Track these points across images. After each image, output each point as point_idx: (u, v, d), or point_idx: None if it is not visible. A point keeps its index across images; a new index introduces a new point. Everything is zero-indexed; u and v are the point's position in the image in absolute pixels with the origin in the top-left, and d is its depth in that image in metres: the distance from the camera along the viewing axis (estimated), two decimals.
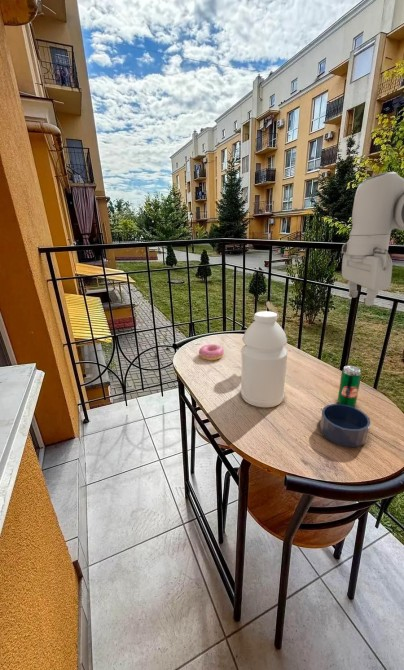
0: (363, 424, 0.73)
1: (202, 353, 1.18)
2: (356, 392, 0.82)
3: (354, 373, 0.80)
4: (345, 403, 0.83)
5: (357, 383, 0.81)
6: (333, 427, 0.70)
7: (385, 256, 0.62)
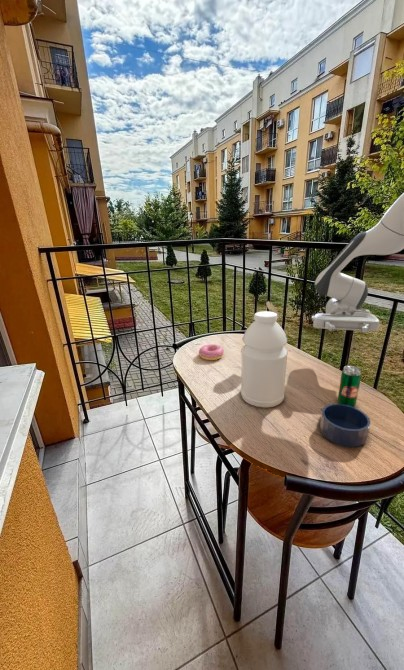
0: (363, 424, 0.73)
1: (202, 353, 1.18)
2: (356, 392, 0.82)
3: (354, 373, 0.80)
4: (345, 403, 0.83)
5: (357, 383, 0.81)
6: (333, 427, 0.70)
7: None
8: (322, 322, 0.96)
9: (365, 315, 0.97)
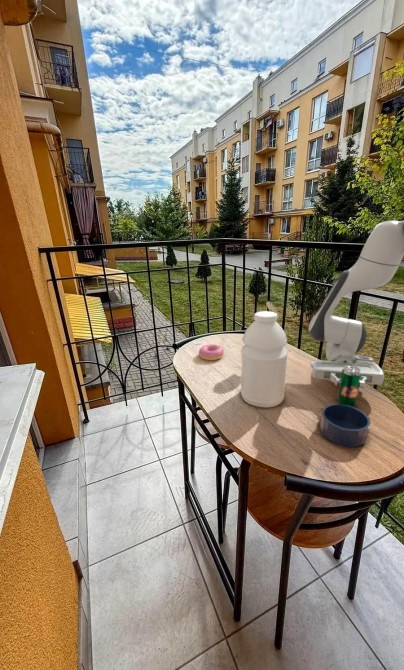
0: (363, 424, 0.73)
1: (202, 353, 1.18)
2: (356, 392, 0.82)
3: (354, 373, 0.80)
4: (345, 403, 0.83)
5: (357, 383, 0.81)
6: (333, 427, 0.70)
7: None
8: (322, 373, 0.89)
9: (369, 364, 0.89)
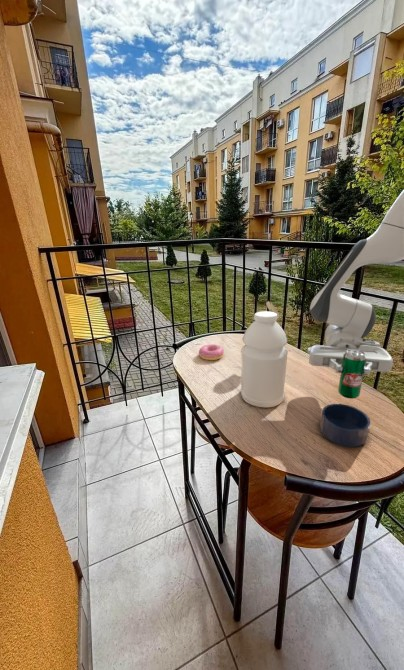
0: (363, 424, 0.73)
1: (202, 353, 1.18)
2: (360, 380, 0.70)
3: (358, 357, 0.68)
4: (347, 393, 0.71)
5: (361, 369, 0.69)
6: (333, 427, 0.70)
7: None
8: (320, 359, 0.76)
9: (374, 349, 0.77)
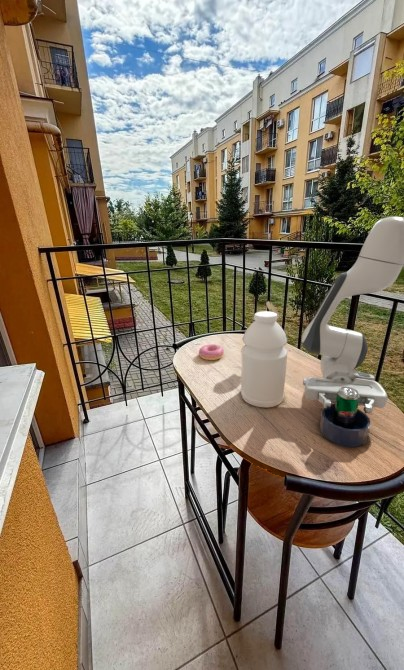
0: (363, 424, 0.73)
1: (202, 353, 1.18)
2: (354, 418, 0.70)
3: (351, 397, 0.68)
4: None
5: (355, 408, 0.69)
6: (333, 427, 0.70)
7: None
8: (315, 393, 0.77)
9: (369, 383, 0.77)
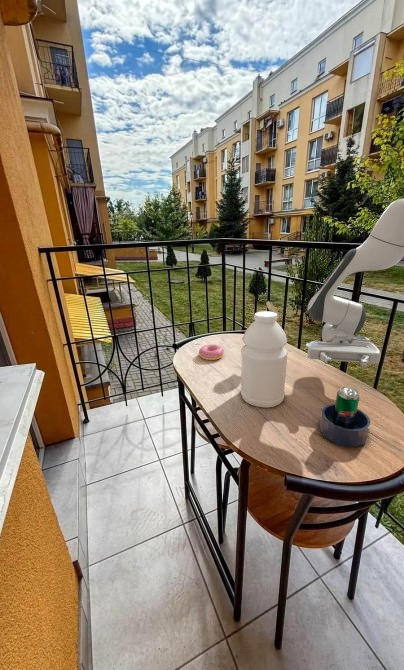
0: (363, 424, 0.73)
1: (202, 353, 1.18)
2: (354, 418, 0.70)
3: (351, 397, 0.68)
4: None
5: (355, 408, 0.69)
6: (333, 427, 0.70)
7: None
8: (317, 353, 0.87)
9: (365, 344, 0.88)
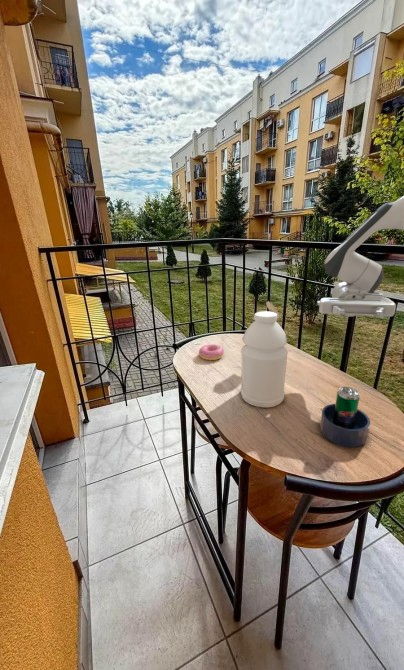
0: (363, 424, 0.73)
1: (202, 353, 1.18)
2: (354, 418, 0.70)
3: (351, 397, 0.68)
4: None
5: (355, 408, 0.69)
6: (333, 427, 0.70)
7: None
8: (329, 306, 0.84)
9: (379, 298, 0.85)
